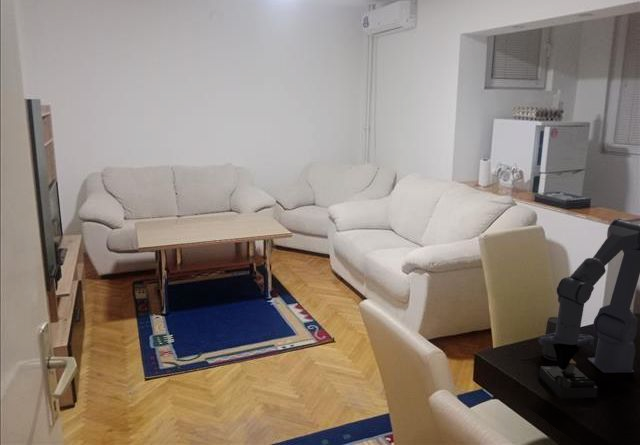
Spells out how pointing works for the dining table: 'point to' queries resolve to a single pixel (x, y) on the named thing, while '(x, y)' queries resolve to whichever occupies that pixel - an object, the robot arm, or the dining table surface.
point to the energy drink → (549, 348)
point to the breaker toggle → (570, 368)
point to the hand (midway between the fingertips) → (561, 367)
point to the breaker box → (568, 383)
